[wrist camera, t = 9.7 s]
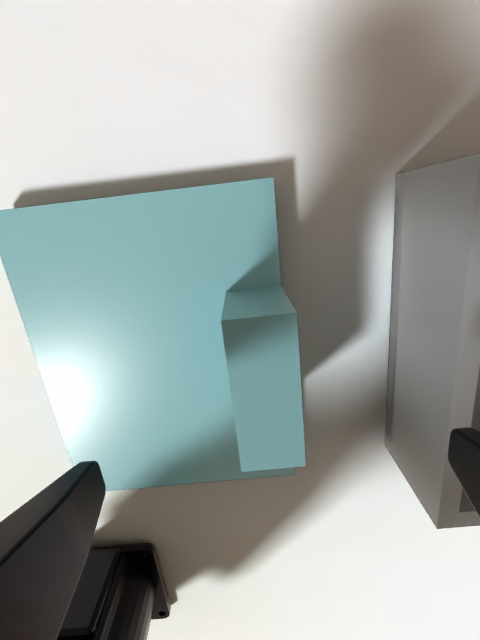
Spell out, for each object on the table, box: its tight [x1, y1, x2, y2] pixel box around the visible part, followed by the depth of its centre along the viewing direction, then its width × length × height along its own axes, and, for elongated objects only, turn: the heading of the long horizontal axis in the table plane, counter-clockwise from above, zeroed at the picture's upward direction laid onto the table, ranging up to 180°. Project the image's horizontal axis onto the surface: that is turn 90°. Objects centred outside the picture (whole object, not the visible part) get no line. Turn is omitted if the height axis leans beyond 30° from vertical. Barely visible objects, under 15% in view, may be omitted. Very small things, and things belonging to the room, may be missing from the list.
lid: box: [0, 177, 306, 491], centre depth 14 cm, size 15×12×6 cm
